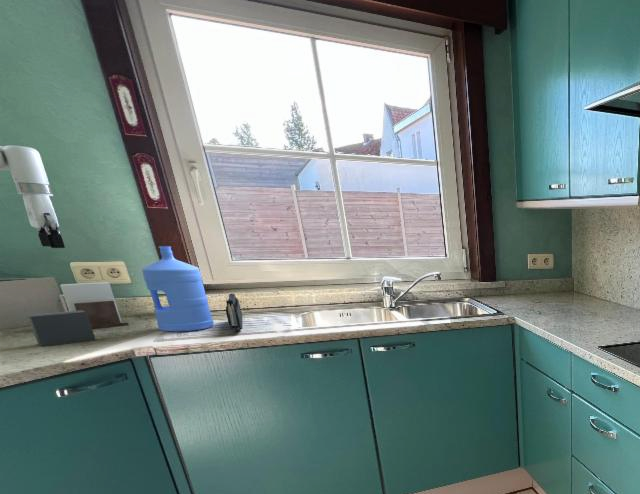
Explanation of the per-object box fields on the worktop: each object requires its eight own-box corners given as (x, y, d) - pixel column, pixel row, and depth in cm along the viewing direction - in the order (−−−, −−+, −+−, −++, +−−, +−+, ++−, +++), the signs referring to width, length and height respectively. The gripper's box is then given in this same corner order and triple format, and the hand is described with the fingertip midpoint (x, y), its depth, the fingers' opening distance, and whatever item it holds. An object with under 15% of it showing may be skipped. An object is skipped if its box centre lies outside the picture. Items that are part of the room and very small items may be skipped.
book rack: (75, 330, 168) (63, 298, 164) (65, 326, 174) (54, 294, 170) (128, 325, 179) (118, 294, 175) (117, 321, 185) (107, 291, 181)
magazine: (227, 296, 191) (218, 280, 166) (237, 295, 193) (230, 280, 168) (237, 339, 194) (230, 331, 168) (247, 339, 195) (241, 330, 170)
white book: (76, 326, 170) (61, 285, 165) (74, 325, 171) (59, 284, 166) (121, 321, 179) (109, 282, 174) (120, 321, 180) (107, 282, 175)
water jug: (215, 322, 188) (195, 245, 177) (213, 330, 176) (191, 247, 165) (162, 325, 180) (138, 245, 169) (156, 333, 167) (129, 247, 157)
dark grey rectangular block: (42, 346, 148) (30, 316, 144) (38, 344, 150) (26, 314, 146) (96, 340, 157) (86, 311, 154) (91, 338, 159) (81, 310, 156)
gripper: (10, 189, 156) (29, 245, 163) (24, 189, 148) (44, 248, 154) (43, 191, 162) (61, 245, 169) (59, 191, 154) (77, 248, 160)
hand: (53, 247), depth 161 cm, fingers open, 9 cm apart
